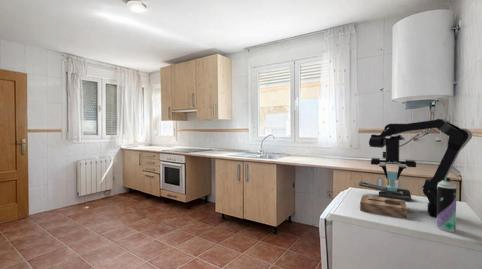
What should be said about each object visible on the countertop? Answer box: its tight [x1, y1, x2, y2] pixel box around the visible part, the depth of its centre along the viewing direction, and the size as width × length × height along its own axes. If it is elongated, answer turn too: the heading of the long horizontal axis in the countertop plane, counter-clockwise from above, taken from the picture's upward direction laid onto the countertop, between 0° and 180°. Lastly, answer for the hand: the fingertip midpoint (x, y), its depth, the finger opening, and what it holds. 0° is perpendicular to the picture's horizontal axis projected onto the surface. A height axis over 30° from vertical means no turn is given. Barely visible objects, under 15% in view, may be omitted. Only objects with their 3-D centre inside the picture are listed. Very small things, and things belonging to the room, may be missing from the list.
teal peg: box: [386, 170, 398, 191], centre depth 117 cm, size 4×4×9 cm
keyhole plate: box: [359, 194, 408, 219], centre depth 110 cm, size 18×13×4 cm
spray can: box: [436, 177, 457, 233], centre depth 89 cm, size 6×6×20 cm
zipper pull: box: [357, 180, 412, 202], centre depth 129 cm, size 9×7×25 cm
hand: (392, 179), depth 116 cm, fingers closed on teal peg, 4 cm apart
